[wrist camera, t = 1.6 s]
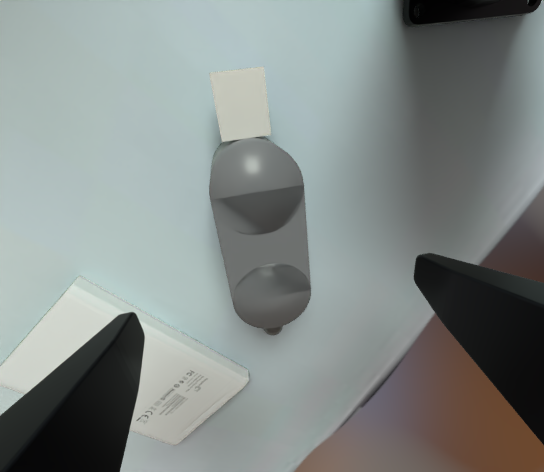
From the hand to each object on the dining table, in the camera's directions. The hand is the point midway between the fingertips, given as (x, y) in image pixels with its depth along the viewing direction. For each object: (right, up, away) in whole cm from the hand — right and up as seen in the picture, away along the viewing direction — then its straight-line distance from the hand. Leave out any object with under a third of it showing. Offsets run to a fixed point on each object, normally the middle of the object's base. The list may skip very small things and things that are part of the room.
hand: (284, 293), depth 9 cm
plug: (-1, +3, +7) cm, 7 cm away
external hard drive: (-9, -7, +10) cm, 15 cm away
